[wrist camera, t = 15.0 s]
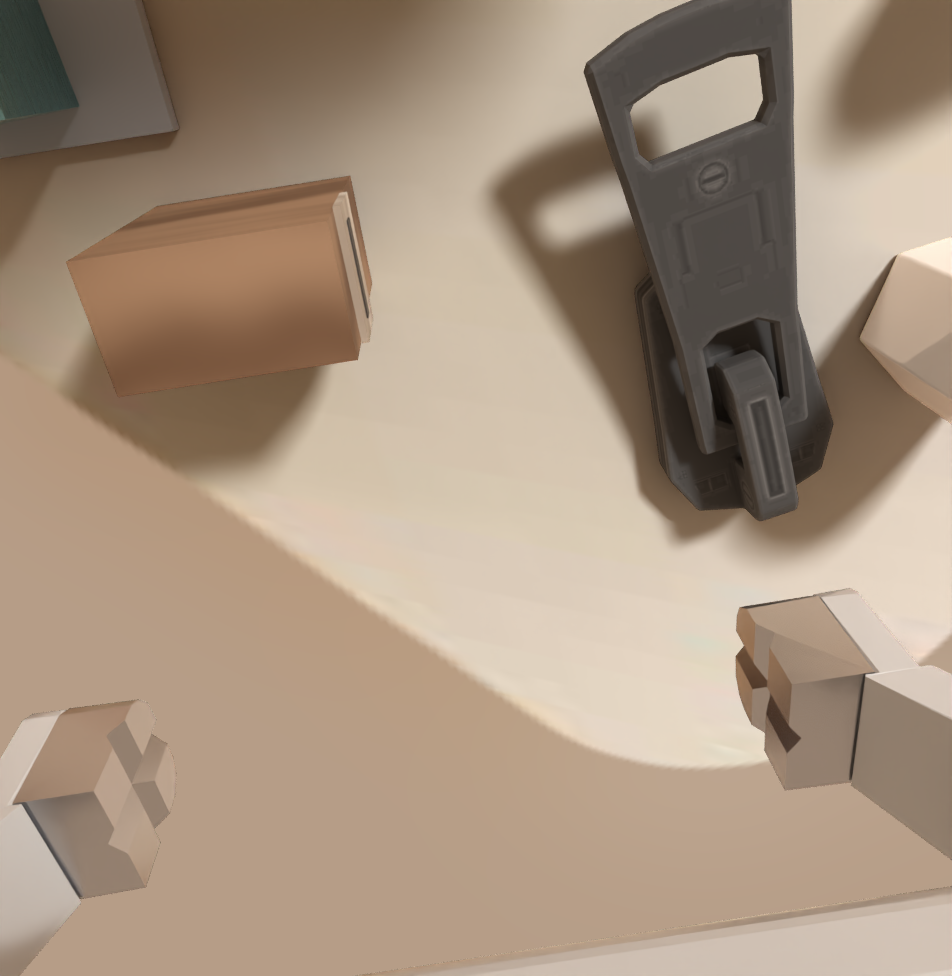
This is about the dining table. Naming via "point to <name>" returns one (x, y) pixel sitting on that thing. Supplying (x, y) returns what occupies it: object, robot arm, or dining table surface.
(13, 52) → the block
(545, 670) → the dining table surface
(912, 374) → the jar
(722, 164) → the zipper pull
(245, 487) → the dining table surface
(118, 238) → the block
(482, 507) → the dining table surface
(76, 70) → the felt pad
